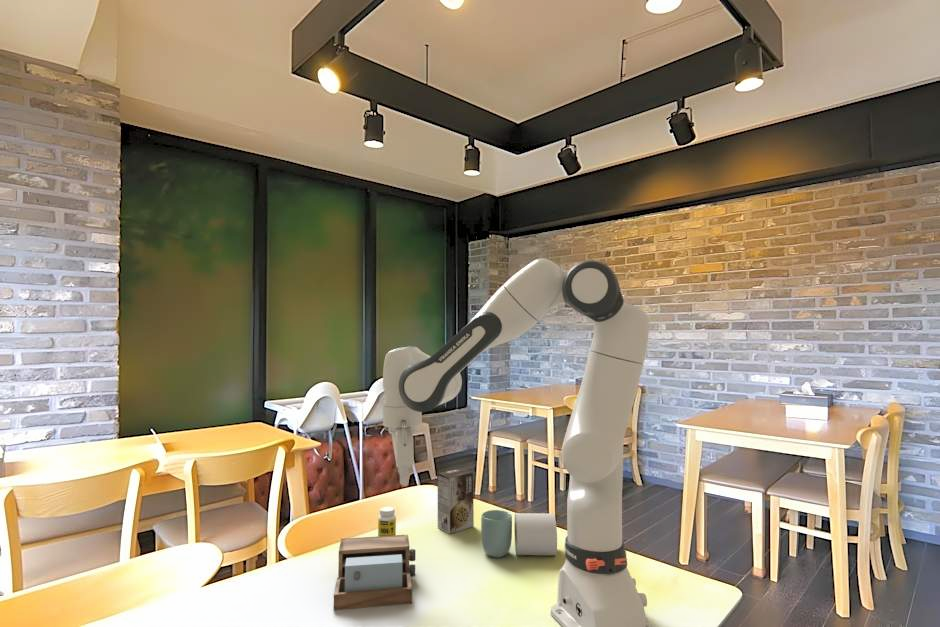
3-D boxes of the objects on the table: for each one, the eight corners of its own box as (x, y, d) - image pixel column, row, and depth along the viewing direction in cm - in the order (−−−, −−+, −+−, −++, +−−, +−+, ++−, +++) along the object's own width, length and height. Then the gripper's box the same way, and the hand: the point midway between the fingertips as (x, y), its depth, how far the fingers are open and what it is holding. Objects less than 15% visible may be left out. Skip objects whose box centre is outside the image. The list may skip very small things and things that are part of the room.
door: (402, 602, 108) (402, 564, 108) (344, 607, 106) (344, 568, 106) (401, 591, 113) (401, 554, 113) (345, 595, 111) (346, 558, 111)
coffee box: (460, 520, 156) (460, 467, 156) (474, 526, 151) (474, 471, 151) (436, 527, 150) (436, 472, 151) (449, 534, 145) (449, 477, 146)
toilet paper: (551, 545, 137) (551, 508, 138) (557, 562, 127) (557, 521, 128) (514, 545, 138) (514, 507, 138) (517, 561, 128) (517, 521, 128)
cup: (500, 563, 126) (500, 522, 127) (475, 555, 131) (475, 516, 132) (517, 552, 133) (517, 513, 133) (492, 545, 137) (492, 507, 138)
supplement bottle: (378, 543, 138) (378, 512, 139) (377, 537, 143) (378, 506, 143) (396, 542, 139) (396, 511, 140) (395, 535, 144) (395, 505, 144)
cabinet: (418, 602, 108) (418, 566, 108) (333, 609, 105) (334, 572, 105) (413, 565, 125) (413, 534, 126) (340, 570, 122) (341, 538, 123)
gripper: (420, 424, 107) (420, 490, 107) (413, 410, 127) (413, 466, 127) (389, 425, 106) (390, 492, 106) (387, 411, 126) (388, 468, 126)
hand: (402, 478), depth 116 cm, fingers open, 8 cm apart
